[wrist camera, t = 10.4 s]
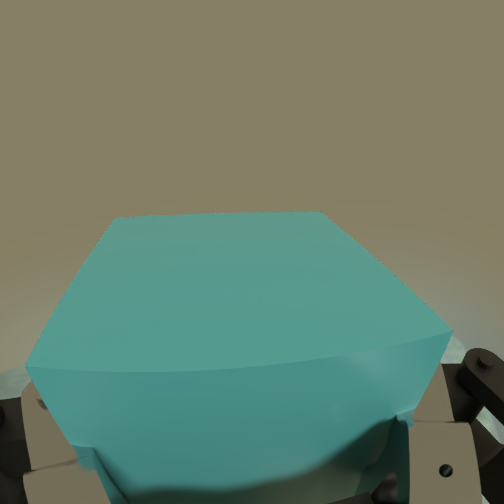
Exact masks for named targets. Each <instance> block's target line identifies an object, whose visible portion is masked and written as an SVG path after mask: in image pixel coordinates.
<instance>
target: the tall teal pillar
mask: <svg viewBox="0 0 504 504" xmlns="http://www.w3.org/2000/svg"><path fill="white" fill-rule="evenodd" d="M452 333H453V330H452V329H451V328H450V327H449V326H448V325H447V324H446V323H445V322H444V321H443V320H442V319H441V318H440V317H439V316H438V315H437V314H436V313H435V312H434V311H433V310H432V309H430V308H429V307H428V306H427V305H426V304H425V303H424V302H423V301H422V300H421V299H420V298H419V297H418V296H417V295H416V294H415V293H414V292H412V291H411V290H410V289H409V288H408V287H407V286H406V285H405V284H404V283H403V282H402V281H401V280H399V279H398V278H397V277H396V276H395V275H394V274H393V273H392V272H391V271H389V270H388V269H387V268H386V267H385V266H384V265H383V264H382V263H380V262H379V261H378V260H377V259H376V258H375V257H374V256H373V255H371V254H370V253H369V252H368V251H366V249H364V248H363V247H362V246H361V245H360V244H359V243H357V242H356V241H355V240H354V239H353V238H352V237H350V236H349V235H348V234H347V233H345V232H344V231H343V230H342V229H341V228H340V227H338V226H337V225H336V224H335V223H334V222H332V221H331V220H330V219H329V218H327V217H326V216H325V215H324V214H323V213H321V212H266V213H265V212H262V213H216V214H186V215H163V216H142V217H123V218H115V219H114V221H113V222H112V224H111V225H110V226H109V228H108V229H107V230H106V232H105V233H104V235H103V236H102V237H101V239H100V240H99V242H98V243H97V245H96V246H95V248H94V249H93V251H92V252H91V253H90V255H89V256H88V258H87V259H86V261H85V263H84V264H83V265H82V267H81V268H80V270H79V272H78V273H77V275H76V276H75V278H74V279H73V281H72V283H71V284H70V286H69V287H68V289H67V291H66V292H65V294H64V296H63V297H62V299H61V300H60V302H59V304H58V306H57V307H56V309H55V311H54V312H53V314H52V316H51V318H50V319H49V321H48V323H47V325H46V326H45V328H44V330H43V332H42V334H41V336H40V338H39V339H38V341H37V343H36V345H35V347H34V349H33V351H32V353H31V355H30V357H29V358H28V360H27V362H26V364H25V367H26V369H27V371H28V373H29V375H30V377H31V379H32V381H33V383H34V385H35V387H36V389H37V390H38V392H39V394H40V396H41V398H42V399H43V401H44V403H45V405H46V406H47V408H48V410H49V412H50V413H51V415H52V417H53V418H54V420H55V421H56V423H57V425H58V426H59V428H60V429H61V431H62V432H63V434H64V436H65V437H66V439H67V440H68V441H69V443H70V444H71V445H76V446H84V447H92V448H93V449H94V451H95V453H96V454H97V456H98V457H99V459H100V460H101V462H102V465H103V467H104V469H105V471H106V473H107V475H108V476H109V478H110V480H111V481H112V483H113V484H114V485H115V487H116V488H117V489H118V490H119V492H120V493H124V494H125V495H126V496H127V497H128V499H129V500H130V501H131V503H132V504H328V503H331V502H335V501H339V500H342V499H346V498H349V497H352V496H354V495H355V492H356V489H357V487H358V484H359V481H360V477H361V473H362V472H363V470H364V469H365V467H366V466H367V465H370V464H373V463H375V462H376V461H377V460H378V458H379V457H380V455H381V453H382V452H383V450H384V449H385V446H386V443H387V440H388V435H389V428H390V426H391V424H392V423H393V421H394V419H395V417H396V415H398V414H401V413H404V412H407V411H410V410H412V409H415V408H416V407H417V405H418V403H419V402H420V400H421V398H422V396H423V394H424V392H425V390H426V389H427V387H428V385H429V383H430V381H431V379H432V377H433V375H434V373H435V371H436V369H437V366H438V364H439V362H440V360H441V358H442V356H443V354H444V351H445V349H446V347H447V345H448V342H449V340H450V338H451V335H452Z"/></svg>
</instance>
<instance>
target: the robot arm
mask: <svg viewBox="0 0 504 504" xmlns="http://www.w3.org/2000/svg"><path fill="white" fill-rule="evenodd" d="M484 406H485V407H486V408H487V409H488V410H489V411H490V412H491V413H492V414H493V415H494V416H495V417H496V418H497V419H498V420H499V421H500V422H501V423H502V424H503V426H504V361H503V360H501V359H500V358H499V357H498V356H497V355H495V354H494V353H492V352H490V351H488V350H486V349H481V348H474V349H471V350H469V351H468V352H467V353H466V354H465V357H464V359H463V361H462V363H461V364H441V363H440V362H439V364H438V366H437V369H436V371H435V373H434V375H433V377H432V379H431V381H430V383H429V385H428V387H427V389H426V390H425V392H424V394H423V396H422V398H421V400H420V402H419V403H418V405H417V407H416V408H415V409H412V410H410V411H407V412H404V413H401V414H398V415H396V417H395V419H394V421H393V423H392V424H391V426H390V428H389V435H388V440H387V443H386V446H385V449H384V450H383V452H382V453H381V455H380V457H379V458H378V460H377V461H376V462H375V463H373V464H370V465H367V466H366V467H365V469H364V470H363V472H362V473H361V477H360V481H359V484H358V487H357V489H356V492H355V495H354V496H352V497H349V498H346V499H342V500H339V501H335V502H331V503H328V504H482V495H483V496H484V497H485V498H486V500H487V501H488V502H489V503H490V504H504V445H503V444H500V443H499V442H498V441H497V440H496V439H495V438H494V437H493V436H492V435H491V433H490V432H489V431H488V430H487V429H486V428H485V427H484V426H483V425H482V424H481V423H480V422H479V421H478V420H477V419H476V417H477V416H478V414H479V413H480V411H481V410H482V408H483V407H484ZM481 493H482V495H481ZM0 504H132V503H131V501H130V500H129V499H128V497H127V496H126V495H125V494H124V493H120V492H119V490H118V489H117V488H116V487H115V485H114V484H113V483H112V481H111V480H110V478H109V476H108V475H107V473H106V471H105V469H104V467H103V465H102V462H101V460H100V459H99V457H98V456H97V454H96V453H95V451H94V449H93V448H92V447H84V446H76V445H71V444H70V443H69V441H68V440H67V439H66V437H65V436H64V434H63V432H62V431H61V429H60V428H59V426H58V425H57V423H56V421H55V420H54V418H53V417H52V415H51V413H50V412H49V410H48V408H47V406H46V405H45V403H44V401H43V399H42V398H41V396H40V394H39V392H38V390H37V389H36V387H35V385H34V383H33V381H31V382H30V383H29V384H28V385H27V386H26V387H25V389H24V391H23V393H22V396H21V397H17V398H11V399H4V400H0Z"/></svg>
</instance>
